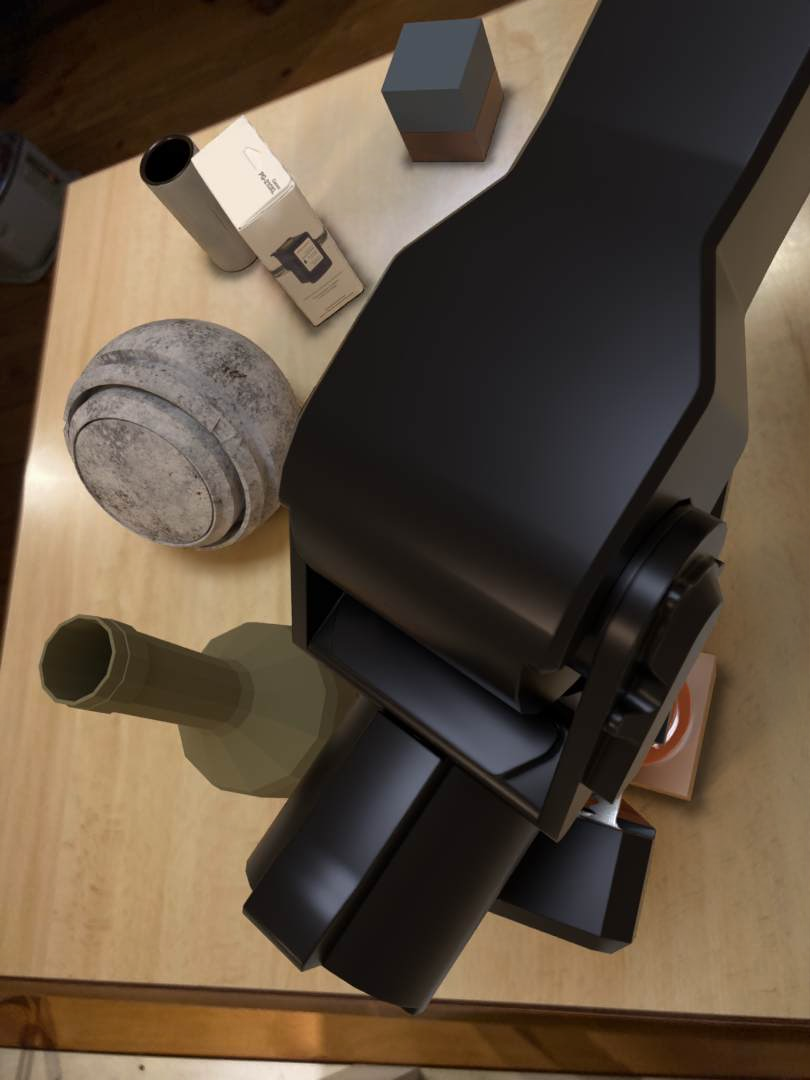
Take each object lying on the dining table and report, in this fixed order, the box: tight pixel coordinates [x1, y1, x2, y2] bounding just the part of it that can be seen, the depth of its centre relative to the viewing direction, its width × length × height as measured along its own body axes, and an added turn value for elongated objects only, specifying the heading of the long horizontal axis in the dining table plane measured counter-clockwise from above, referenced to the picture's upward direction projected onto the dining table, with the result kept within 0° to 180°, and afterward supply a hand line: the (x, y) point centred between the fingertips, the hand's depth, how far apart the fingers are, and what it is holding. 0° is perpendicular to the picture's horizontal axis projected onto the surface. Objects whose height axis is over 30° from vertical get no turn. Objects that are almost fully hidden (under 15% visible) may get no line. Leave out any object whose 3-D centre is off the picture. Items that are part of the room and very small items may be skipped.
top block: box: [380, 17, 496, 133], centre depth 60 cm, size 6×6×4 cm
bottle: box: [38, 613, 357, 799], centre depth 37 cm, size 7×7×30 cm
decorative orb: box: [62, 318, 301, 552], centre depth 54 cm, size 15×14×15 cm
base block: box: [399, 65, 505, 162], centre depth 63 cm, size 6×6×3 cm
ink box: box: [191, 114, 364, 327], centre depth 60 cm, size 8×5×12 cm, turn 31°
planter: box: [138, 132, 258, 272], centre depth 64 cm, size 4×4×10 cm
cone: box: [640, 681, 693, 768], centre depth 39 cm, size 6×6×5 cm
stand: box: [628, 651, 717, 802], centre depth 44 cm, size 7×7×6 cm
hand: (622, 695), depth 38 cm, fingers open, 9 cm apart
